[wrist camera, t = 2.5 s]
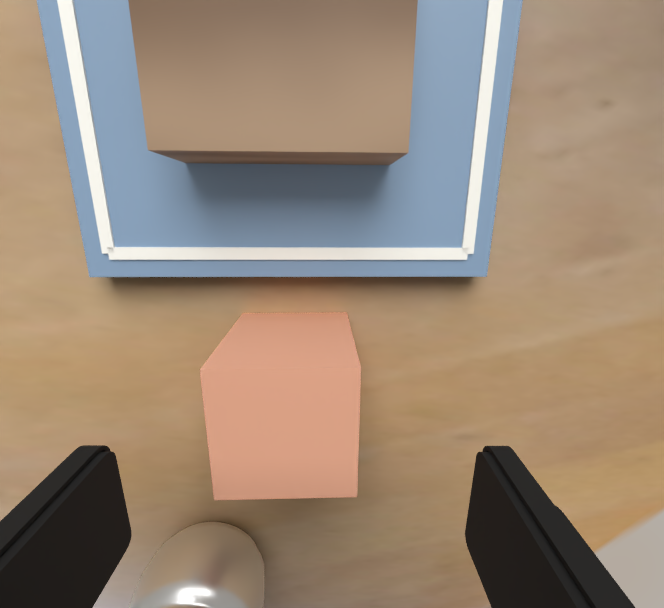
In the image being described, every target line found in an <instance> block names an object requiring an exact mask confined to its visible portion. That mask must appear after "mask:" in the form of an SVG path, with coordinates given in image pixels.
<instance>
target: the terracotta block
mask: <svg viewBox="0 0 664 608" xmlns="http://www.w3.org/2000/svg"><path fill="white" fill-rule="evenodd" d="M200 376H201V385H202V394H203V403H204V413H205V422H206V431H207V440H208V449H209V458H210V467H211V476H212V485H213V494H214V500H247V499H292V498H337V497H357V485H358V452H359V419H360V386H361V366H360V362H359V358H358V354H357V350H356V346H355V342H354V338H353V334H352V330H351V326H350V322H349V319H348V315H347V313H242V315H241V316H240V317H239V319H238V320H237V321H236V323H235V324H234V325H233V326H232V328H231V329H230V330H229V332H228V333H227V334H226V336H225V337H224V338H223V340H222V341H221V342H220V344H219V345H218V346H217V348H216V349H215V350H214V351H213V353H212V354H211V355H210V357H209V358H208V359H207V361H206V362H205V363H204V365H203V366H202V367H201V369H200Z"/></svg>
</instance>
